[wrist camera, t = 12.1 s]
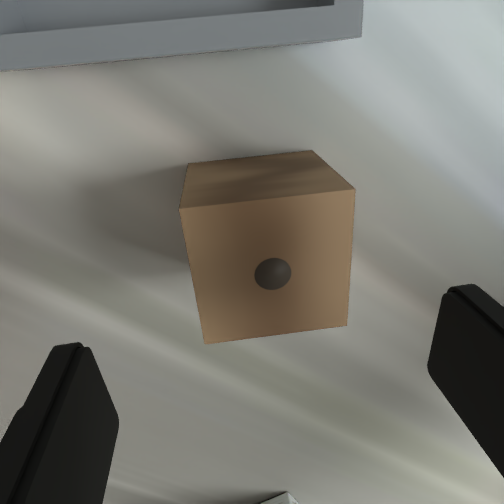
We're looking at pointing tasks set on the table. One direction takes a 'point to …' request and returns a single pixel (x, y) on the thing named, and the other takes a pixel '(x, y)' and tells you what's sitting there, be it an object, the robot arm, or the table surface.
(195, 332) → the table surface
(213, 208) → the walnut block
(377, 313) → the table surface
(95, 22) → the tray
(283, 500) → the supplement box
